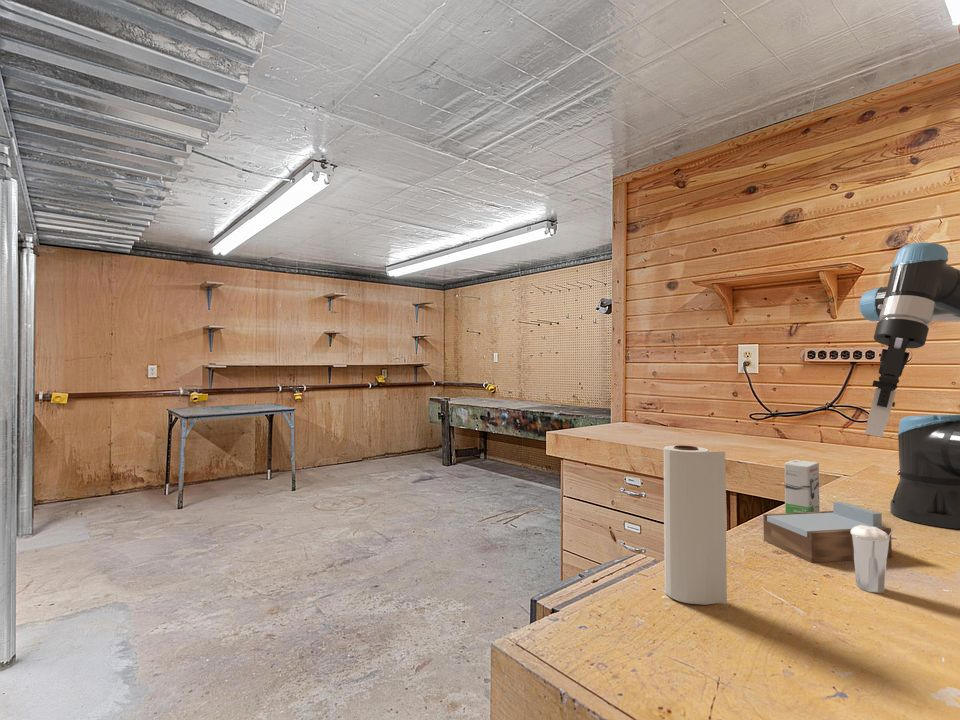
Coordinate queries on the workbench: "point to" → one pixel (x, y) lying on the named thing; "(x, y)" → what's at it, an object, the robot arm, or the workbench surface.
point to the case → (814, 542)
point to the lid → (829, 519)
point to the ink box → (801, 486)
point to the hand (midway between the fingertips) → (874, 430)
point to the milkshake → (870, 557)
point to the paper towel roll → (695, 525)
